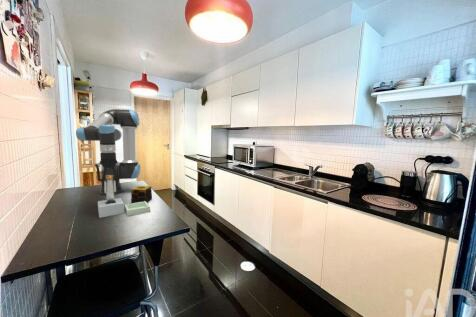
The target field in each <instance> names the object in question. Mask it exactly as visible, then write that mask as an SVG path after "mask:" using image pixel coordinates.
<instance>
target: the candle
mask: <svg viewBox="0 0 476 317" xmlns="http://www.w3.org/2000/svg"><path fill="white" fill-rule="evenodd" d="M130 192H131V194H130V196H131V198H130V202H131V203H137V202H144V201H146V202H147V204H148V203H149V202H151V201H152V199H153V193H152V192H153V191H152V185H137V186H135V187H132V188H131V189H130ZM131 203H130V204H131Z"/></svg>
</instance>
